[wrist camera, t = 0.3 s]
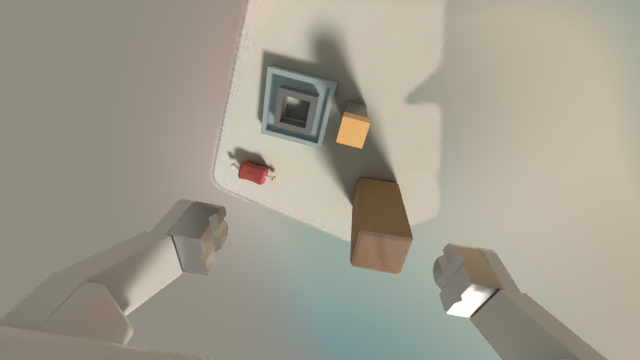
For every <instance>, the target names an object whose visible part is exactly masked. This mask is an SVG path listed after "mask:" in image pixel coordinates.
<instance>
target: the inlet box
mask: <svg viewBox="0 0 640 360" xmlns="http://www.w3.org/2000/svg"><path fill="white" fill-rule="evenodd" d="M337 84H338V82H335V81H331V80H327V79H323V78H319V77H316V76H312V75H308V74H304V73H300V72H296V71H293V70H289V69H285V68H281V67H277V66H273V65H271V66H268V67H267V77H266V87H265V97H264V107H263V117H262V127H261V133H263V134H267V135H270V136H274V137H278V138H282V139H286V140H289V141H293V142H297V143H301V144H304V145H308V146H312V147H316V148H320V149H321V147H322V145H323V141H324V137H325V133H326V129H327V124H328V120H329V116H330V112H331V108H332V104H333V100H334V96H335V92H336V88H337ZM288 96H289V97H293V98H296V99H300V100H304V101H308V102H310V106H309V111H308V116H307V122H305V121H301V120H298V119H294V118H290V117H286V116H285V114H286V107H287V100H288Z"/></svg>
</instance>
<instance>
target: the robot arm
mask: <svg viewBox="0 0 640 360" xmlns="http://www.w3.org/2000/svg"><path fill="white" fill-rule="evenodd" d="M225 216H226V210H225V207H223V206H218V205H213V204H208V203H203V202H197V201H190V200H185V199H181V200H179V201H177V202H176V203H175V204H174V206H173V207H172V208H171V209H170V210H169V211H168V212H167V213H166V214H165V215H164V217H163V218H162V219H161V220H160V221H159V222H158V223H157V224H156V226H155V227H154V228H153V229H152V230H151V231H150V232H146V231H145V232H143V233H141V234H138V235H136V236H134V237H132V238H130V239H128V240H125V241H123V242H121V243H119V244H117V245H114V246H112V247H110V248H108V249H106V250H104V251H102V252H99V253H97V254H95V255H93V256H90V257H88V258H86V259H84V260H82V261H79V262H77V263H75V264H73V265H71V266H69V267H66V268H64V269H62V270H60V271H58V272H55V273H53V274H51V275H50V276H49V277H48V278H47V279H45V280H44V281H43V282H42V283H41V284H40V285H39V286H38V287H36V288H35V289H34V290H33V291H32V292H31V293H30V294H29V295H27V296H26V297H25V298H24V299H23V300H22V301H21V302H20V303H19V304H17V305H16V306H15V307H14V308H13V309H12V310H11V311H9V312H8V313H7V314H6V315H5V316H4V317H3V318H1V319H0V360H216V359H210V358H203V357H197V356H190V355H184V354H178V353H172V352H165V351H159V350H152V349H146V348H140V347H134V346H128V345H126V344H127V342H128V340H129V339H130V337H131V336H132V334H133V333H134V331H133V327H132V325H131V324H130V322H129V321H128V319H127V318H126V315H127V314H129V313H130V312H131V311H133V310H134V309H135V308H137V307H138V306H139V305H141V304H142V303H143V302H145V301H146V300H147V299H149V298H150V297H151V296H153V295H154V294H155V293H157V292H158V291H159V290H161V289H162V288H163V287H165V286H166V285H167V284H169V283H170V282H171V281H173V280H174V279H175V278H177V277H178V276H179V275H180V274H182V272H189V273H197V274H204V275H207V274H208V273H209V271H210V269H211V267H212V265H213V263H214V262H215V260H216V255H215V252H216V251H218V250H220V249H221V248H222V246H223V244H224V242H225V240H226V236H227V230H228V226H227V222H226V221H225V220H224V217H225ZM443 252H444V255H442V256H440V257H438V258H437V259H436V261H435V263H434V267H433V275H434V279H435V283H436V284H437V285H438V286H439V287H440V288H441V289H442V290H441V293H440V297H441V301H442V304H443V307H444V310H445V312H446V314H451V315H456V316H462V317H468V318H471V319H470V320H471V321H472V323H473V324H474V325H475V326H476V328H477V329H478V330H479V331H480V333H481V334H482V335H483V336H484V337H485V339H486V340H487V341H488V342H489V344H490V345H491V346H492V347H493V348H494V350H495V351H496V352H497V353H498V355H499V356H500V357H501V358H502V360H607V359H606V358H604V357H603V356H602V355H601V354H600V353H598V352H597V351H596V350H595V349H593V348H592V347H591V346H590V345H588V344H587V343H586V342H585V341H583V340H582V339H581V338H580V337H578V336H577V335H576V334H575V333H574V332H573V331H571V330H570V329H569V328H568V327H566V326H565V325H564V324H563V323H561V322H560V321H559V320H558V319H556V318H555V317H554V316H553V315H551V314H550V313H549V312H548V311H547V310H545V309H544V308H543V307H542V306H540V305H539V304H538V303H537V302H536V301H534V300H533V299H532V298H531V297H529V296H528V295H527V294H525V293H521V292H520V290H519V289H518V287H517V285H516V284H515V282H514V281H513V279H512V278H511V276H510V274H509V273H508V271H507V270H506V268H505V266H504V265H503V263H502V262H501V260H500V258H499V257H498V255H497V254H496V253H495V252H494V251H493V250H489V249H483V248H475V247H469V246H462V245H457V244H450V243H449V244H448V245H446V246H445V247H444V249H443Z"/></svg>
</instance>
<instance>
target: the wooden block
mask: <svg viewBox="0 0 640 360" xmlns="http://www.w3.org/2000/svg"><path fill="white" fill-rule="evenodd" d="M412 240H413V238H412V233H411V229H410V226H409V222H408V218H407V215H406V211H405V207H404V204H403V200H402V196H401V193H400V189H399V185H398V184H397V183H394V182H387V181H380V180H373V179H366V178H360V179H359V180H358V182H357V187H356V192H355V197H354V202H353V208H352V231H351V255H350V256H351V257H350V261H351V264H352V265H353V266H354V267H360V268H365V269H371V270H377V271H382V272H388V273H394V274H398V273H400V272H401V269H402V266H403V264H404V261H405V258H406V256H407V253H408V251H409V248H410V245H411V243H412Z"/></svg>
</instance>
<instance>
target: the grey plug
mask: <svg viewBox="0 0 640 360" xmlns="http://www.w3.org/2000/svg"><path fill="white" fill-rule="evenodd" d="M370 124H371V123H370V118H367V109H366V105H363V104H359V103H355V102H352V101H348V102H347V106H346V109H345V112H344V114H343V117H342V121H341V125H340V128H339V132H338V136H337V140H336V142H338V143H341V144H345V145H349V146H353V147H356V148H360V149H362V147H363V144H364V141H365V138H366V135H367V132H368V129H369V126H370Z"/></svg>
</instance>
